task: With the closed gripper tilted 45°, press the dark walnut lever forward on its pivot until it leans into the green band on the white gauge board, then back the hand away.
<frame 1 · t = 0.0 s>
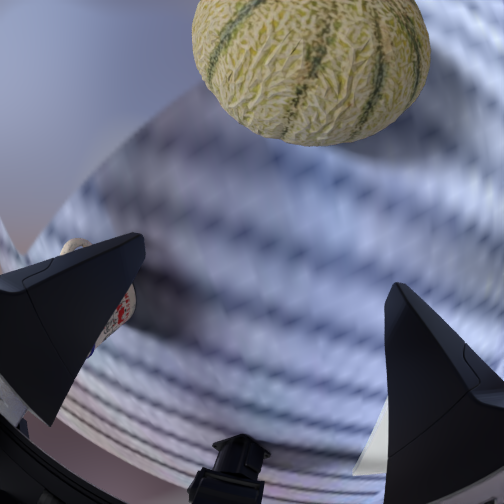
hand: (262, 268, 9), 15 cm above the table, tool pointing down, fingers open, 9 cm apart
gauge base: (413, 449, 29), on the table
cantaloupe: (311, 76, 21), on the table
teacup with lid: (108, 277, 30), on the table
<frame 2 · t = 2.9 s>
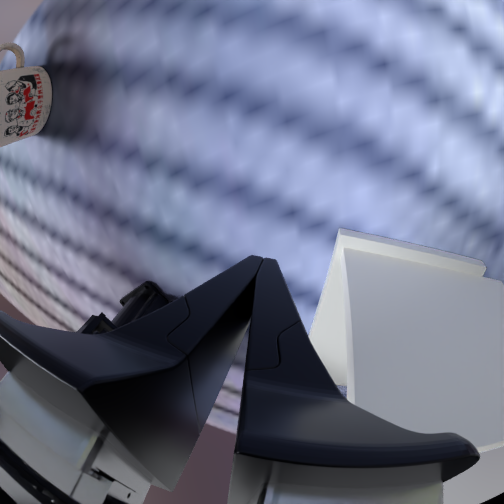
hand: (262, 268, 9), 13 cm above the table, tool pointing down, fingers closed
gauge base: (381, 355, 28), on the table
teacup with lid: (35, 88, 20), on the table
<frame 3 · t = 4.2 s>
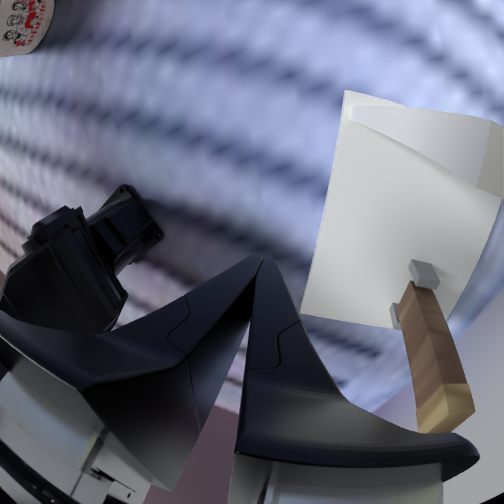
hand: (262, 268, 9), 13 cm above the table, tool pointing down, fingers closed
lever: (429, 347, 15), point 8 cm above the table, hinge at 0.0°
gauge base: (406, 279, 22), on the table
teacup with lid: (38, 12, 15), on the table
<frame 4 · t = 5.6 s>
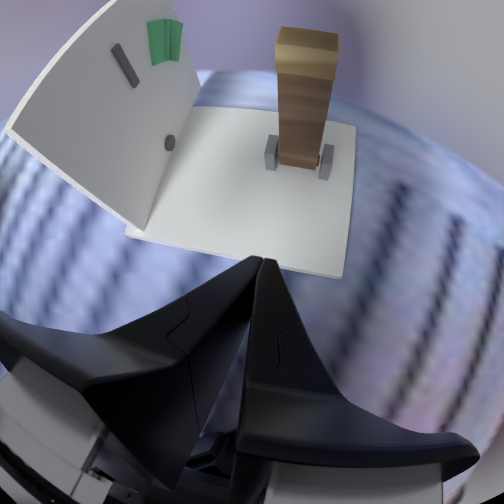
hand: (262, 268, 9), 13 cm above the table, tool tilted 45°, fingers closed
lever: (303, 112, 17), point 8 cm above the table, hinge at 0.0°
gauge base: (297, 172, 25), on the table
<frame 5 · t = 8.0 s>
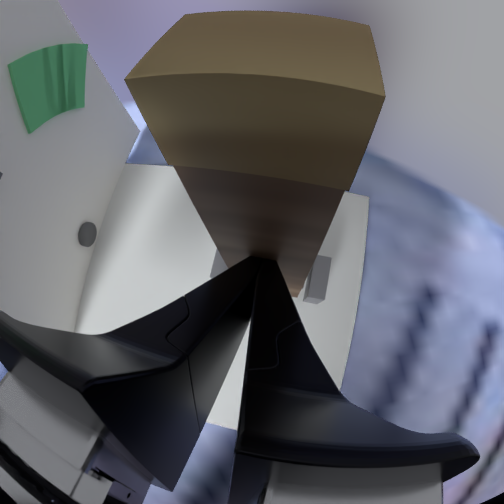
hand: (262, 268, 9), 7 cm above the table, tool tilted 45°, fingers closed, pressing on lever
lever: (270, 225, 9), point 8 cm above the table, hinge at 4.5°, touching gripper
gauge base: (272, 280, 17), on the table
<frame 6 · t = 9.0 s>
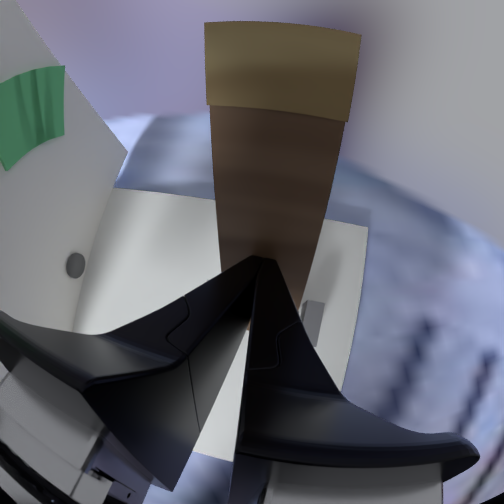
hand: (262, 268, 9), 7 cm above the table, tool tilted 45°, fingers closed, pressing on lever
lever: (271, 225, 9), point 8 cm above the table, hinge at 28.7°, touching gripper
gauge base: (264, 316, 16), on the table
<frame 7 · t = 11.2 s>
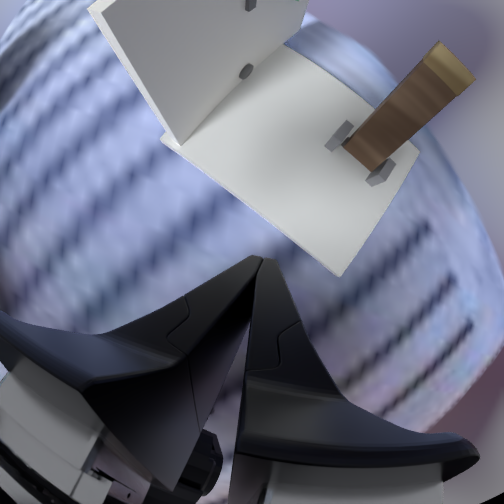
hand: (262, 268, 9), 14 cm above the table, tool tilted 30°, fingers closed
lever: (404, 111, 16), point 8 cm above the table, hinge at 28.7°
gauge base: (349, 161, 23), on the table
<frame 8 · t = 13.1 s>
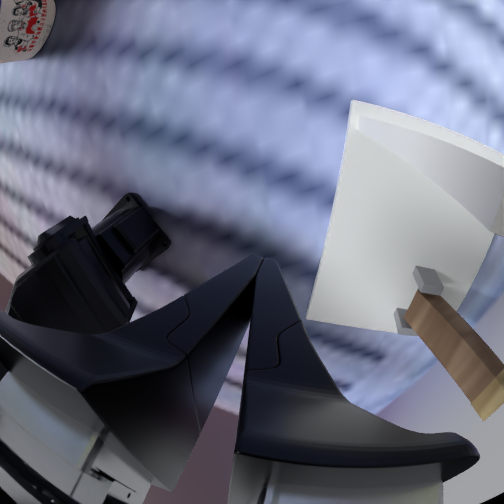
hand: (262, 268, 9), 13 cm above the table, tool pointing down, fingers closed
lever: (458, 347, 16), point 8 cm above the table, hinge at 28.7°
gauge base: (410, 284, 23), on the table
teacup with lid: (39, 17, 15), on the table
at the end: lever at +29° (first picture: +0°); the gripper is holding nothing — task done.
